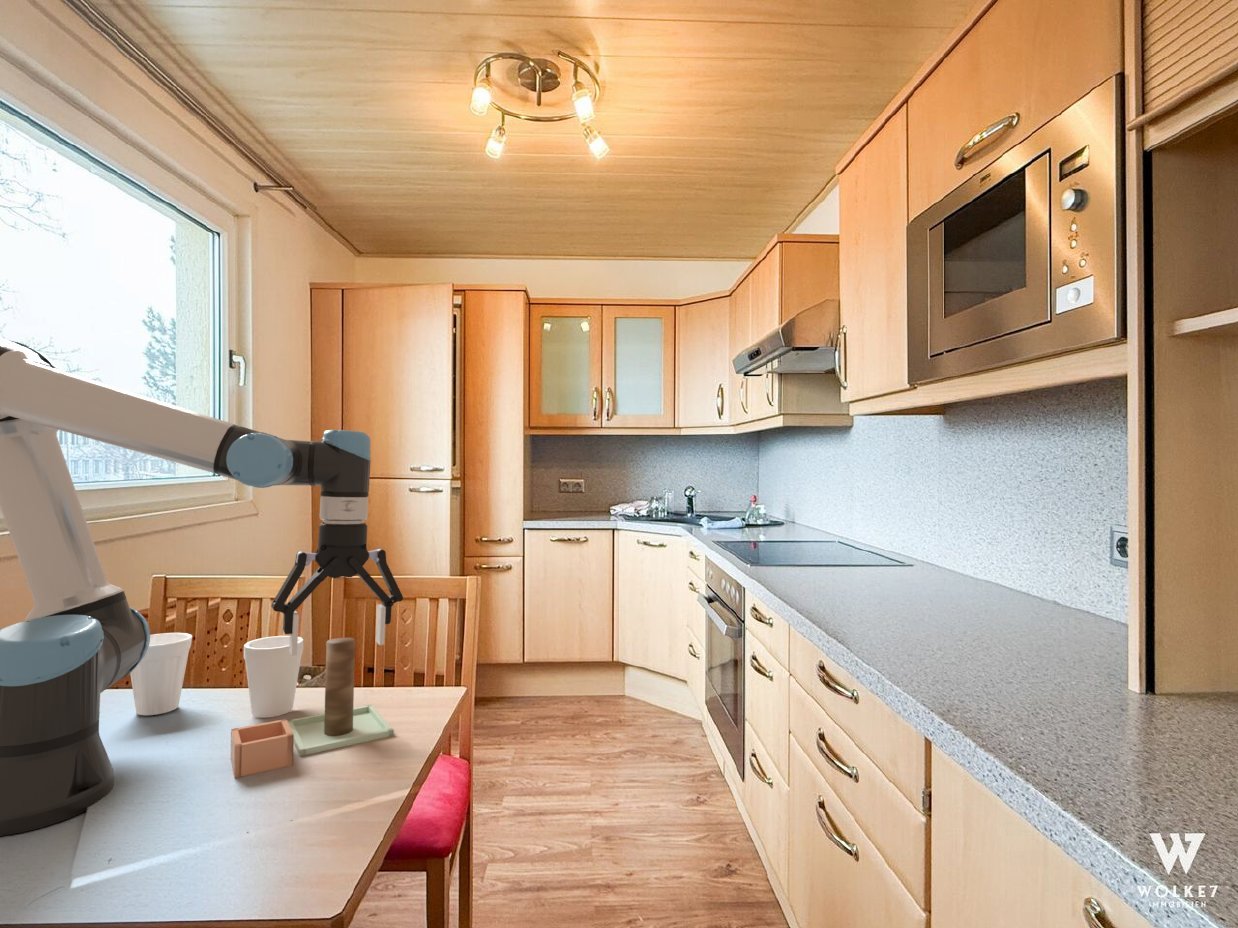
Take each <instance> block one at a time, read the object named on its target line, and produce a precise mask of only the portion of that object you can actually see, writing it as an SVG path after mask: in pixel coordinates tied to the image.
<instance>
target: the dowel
mask: <svg viewBox="0 0 1238 928" xmlns="http://www.w3.org/2000/svg"><path fill="white" fill-rule="evenodd" d="M325 646H326V648H325V649H326V651H325V652H326V653H325V681H324V682H325V683H324V684H325V686H324V687H325V690H324V691H325V692H324V713H325V720H324V734H325V735H327V736H340V735H344V734H347V733H350V732H351V731H352V730H353V708H354V700H355V699H354V698H355V695H354V694H355V693H354V692H355V691H354V690H355V656H356V655H355V654H356V653H355V652H356V651H355V650H356V639H355V638H353V637H338V638H337V637H336V638H332V639H328V640H327V641H326V643H325Z"/></svg>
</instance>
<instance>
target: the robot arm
mask: <svg viewBox="0 0 1238 928" xmlns="http://www.w3.org/2000/svg"><path fill="white" fill-rule="evenodd" d="M58 431H62V432H66V433H69V434H73V435H77V436H80V437H83V438H87V439H91V440H94V441H98V442H102V443H106V444H109V445H112V446H116V447H119V448H122V449H126V450H130V451H134V452H138V453H141V454H144V455H148V456H151V457H155V458H158V459H162V460H165V461H169V462H173V463H177V464H180V465H183V466H188V467H190V468H195V469H197V470H202V471H205V472H209V473H212V474H216V475H219V476H222V477H225V478H229V479H233V480H236V481H238V482H239V483H242V485H245V486H249V487H253V488H259V489H261V488H263V489H264V488H271V487H273V486H310V487H316V486H317V487H320V498H319V499H320V501H319V519H320V520H321V521H322V522H321V523H320V524H318V525H319V526H318V541H317V542H318V543H317V549H316V551H315V552H305V551H302V550H299V551H297V553H296V555H295V560H294V565H293V566H292V568H291V570H290V571H289V574H288V575H287V577H286V579H285V581H284V582H283V583H282V585H281V587H280V589H279V590H278V592H277V594H276V595H275V597H274V599H273V601H272V602H271V605H270V606H271V608H272V610H273V611H275V612H279V613H283V620H282V621H283V624H282V630H283V632H284V634H285V635H289V636H290V646H289V652H290V654H291V655H292V656H294V655H297V644H298V637H299V619H300V614H299V613H298V612H297V611H296V610H297V609H298V608H299V607H300V606H302V605H301V604H302V603H304V602H305V601H306V599H307V598H308V597H309V596H310V595H311V594H312V593H313V591H315V589H317V587H318V586H319V585H320V584H321V583H323V582H324V581H325V580H326V579H327V578H328V577H329V578H331V579H339V578H353V577H355V576H356V575H357V577H359V579H360V580H361V581H362V582H363V583H364V584H365V585H366V586H367V587H368V589H369V590H370V591H371V592H372V593H373V594H374V595H375V596H376V597H377V599H379V600H380V602H381V603H382V604H377V605H376V621H375V622H376V623H375V624H376V626H375V643H376V644H378V645H379V646H384V645H385V638H386V637H385V635H386V634H385V633H386V632H385V631H386V625H389V624H391V621H392V607H393V606H394V604H396V603H398V602H401V601H403V599H404V596H403V594H402V592H401V590H400V588H399V586H398V583H397V582H396V579H395V577H394V575H393V574H392V570H391V569H390V567H389V565H388V563H387V552H386V550H384V549H381V548H379V547H378V548H376V549H374V550H368V548H367V547H368V546H367V542H368V525H367V523H365V521H366V520H368V517H369V492H370V479H371V475H370V473H371V461H372V460H371V438H370V436H369V435H368V434H367V433H366V432H363V431H360V430H359V431H356V430H349V429H348V430H346V429H328V430H325V431H324V432H323V436H322V438H321V440H315V441H314V440H311V441H310V440H295V439H283V438H281V437H278V436H275V435H273V434H271V433H270V434H269V433H267V432H262V431H261V432H260V431H258V430H254V429H252V428H248V427H245V426H240V425H236V424H234V423H232V422H228V421H225V420H222V419H218V418H216V417H212V416H208V415H206V414H203V413H199V412H196V411H193V410H189V409H185V408H183V407H179V406H177V405H172V404H170V403H167V402H163V401H159V400H157V399H153V398H150V397H147V396H144V395H141V394H137V393H134V392H130V391H128V390H124V389H121V388H117V387H114V386H111V385H108V384H104V383H101V382H98V381H95V380H91V379H88V378H85V377H82V376H79V375H77V374H76V375H75V374H72V373H68V372H66V371H62V370H60V369H59V367H58V366H57V365H56V364H55V363H54V362H53V361H52V360H51V359H50V358H48V357H47V356H46V355H44V354H43V353H41V352H40V351H38V350H36V349H34V348H33V347H30V346H28V345H26V344H25V343H21V342H18V341H13V340H9V339H4V338H2V337H0V511H1V514H2V516H3V519H4V522H5V526H6V528H7V530H8V532H9V536H10V539H11V541H12V544H13V546H14V549H15V552H16V555H17V558H18V561H19V564H20V567H21V569H22V572H23V575H24V578H25V580H26V583H27V587H28V590H29V591H30V594H31V597H32V600H33V607H32V608H31V609H30V611H29V613H28V614H27V615H26V617H25V618H24V621H21V622H16V623H15V624H11V625H9V626H6V627H3V628H1V629H0V836H7V835H8V836H9V835H13V834H19V833H23V832H24V833H26V832H29V831H32V830H37V829H42V828H44V827H47V826H51V825H54V824H57V823H60V822H63V821H66V820H68V819H70V818H74V817H75V816H77V815H80V814H82V813H85V812H86V811H88V808H89V807H91V806H93V805H94V804H97V803H98V802H100V801H101V800H102V799H104V798H105V797H106V796H108V795H109V794H110V792H111V791H112V790H113V788H114V782H115V781H114V780H115V772H114V768H113V765H112V763H111V761H110V758H109V756H108V752H107V749H106V748H105V746H104V743H103V740H102V739H101V736H100V714H101V712H100V710H101V709H100V708H101V693H103V692H104V691H105V690H107V689H109V688H110V687H111V686H113V685H114V684H116V683H118V682H120V681H122V680H123V679H124V678H126V677H127V676H129V675H130V673H131V672H132V671H133V670H134V669H135V668H136V666H137V665H138V664H139V663H140V661H141V660H142V659H143V657H144V656H145V654H146V652H147V650H148V647H149V643H150V635H151V630H150V625H149V623H148V621H147V620H146V618H145V617H144V616H143V614H141V612H139V611H138V610H136V609H134V608H132V607H130V605H129V601H128V598H127V596H126V593H125V590H124V588H122V587H119V586H117V585H114V584H113V583H112V584H111V583H110V582H108V580H107V577H106V574H105V571H104V568H103V565H102V562H101V560H100V557H99V554H98V551H97V548H96V545H95V542H94V540H93V536H92V534H91V531H90V528H89V525H88V522H87V519H86V516H85V514H84V511H83V508H82V505H81V502H80V499H79V496H78V493H77V490H76V488H75V484H74V482H73V479H72V476H71V474H70V471H69V468H68V464H67V461H66V459H65V456H64V453H63V450H62V447H61V444H60V441H59V438H58V436H57V435H58ZM369 558H370V559H371V561H372V562H373V563H375V564H376V566H377V569H378V570H379V573H380V574H381V577H382V580H383V581H384V583H385V585H386V587H387V589H388V591H389V594H390V595H388V594H387V593H386V592H385V591H384V590H383V589H382V587H381V586H380V585H379V584H378V583H377V581H376V580H375V579H374V578H373V577H372V576H371V575H370V573H369V572H368V571H367V570H366V569H365V568H364V566H365V564H366V562H367V561H368V559H369ZM312 561H315V562H316V563H317V565H318V566H319V567H318V568H317V569H316V570H315V571H314V572H313V574H312V576H310V578H309V579H308V580H307V581H306V582H305V583H304V584H303V585H302V586H301V587H300V588H299V590H298V591H296V593H295V594H294V595H293V596H292V597H291V598H290V599H289V600H288V598H289V597H290V594H291V593H292V591H294V590H293V589H294V588H295V587H296V585H297V584H298V581H299V579H300V578H301V576H302V574H303V572H304V570H305V568H306V567H307V566H310V565H311V562H312ZM287 600H288V602H287ZM286 602H287V603H286Z"/></svg>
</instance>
